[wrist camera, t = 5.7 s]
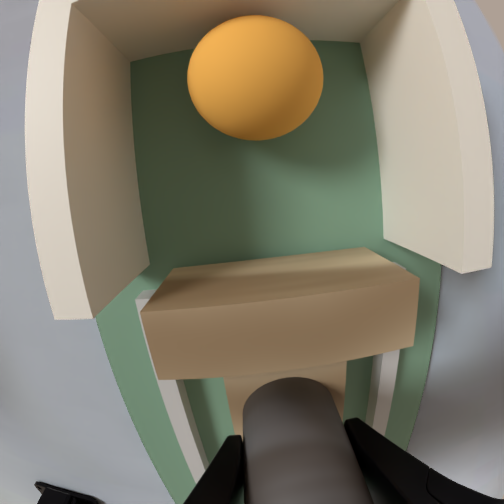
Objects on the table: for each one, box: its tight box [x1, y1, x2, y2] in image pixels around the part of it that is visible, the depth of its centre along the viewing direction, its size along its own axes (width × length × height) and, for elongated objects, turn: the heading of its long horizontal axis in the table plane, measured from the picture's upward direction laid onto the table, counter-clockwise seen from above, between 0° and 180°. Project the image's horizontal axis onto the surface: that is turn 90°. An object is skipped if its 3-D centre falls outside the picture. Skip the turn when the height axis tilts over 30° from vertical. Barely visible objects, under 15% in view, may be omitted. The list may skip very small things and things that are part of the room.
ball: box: [187, 15, 323, 141], centre depth 8 cm, size 4×4×4 cm
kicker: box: [140, 247, 420, 504], centre depth 8 cm, size 8×7×8 cm
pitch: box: [25, 0, 494, 504], centre depth 10 cm, size 29×15×5 cm, turn 6°
